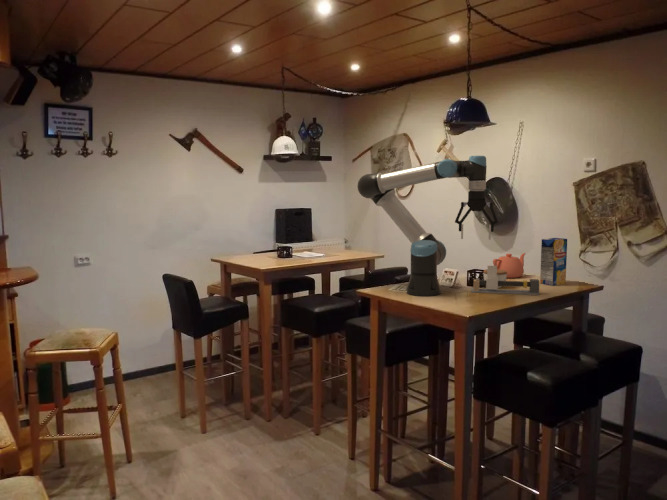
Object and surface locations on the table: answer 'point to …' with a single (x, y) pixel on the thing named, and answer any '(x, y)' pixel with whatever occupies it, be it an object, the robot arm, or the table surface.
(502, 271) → the lidded jar
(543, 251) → the beverage box
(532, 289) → the cord rig
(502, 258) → the teapot
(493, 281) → the grey upright block
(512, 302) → the table surface
